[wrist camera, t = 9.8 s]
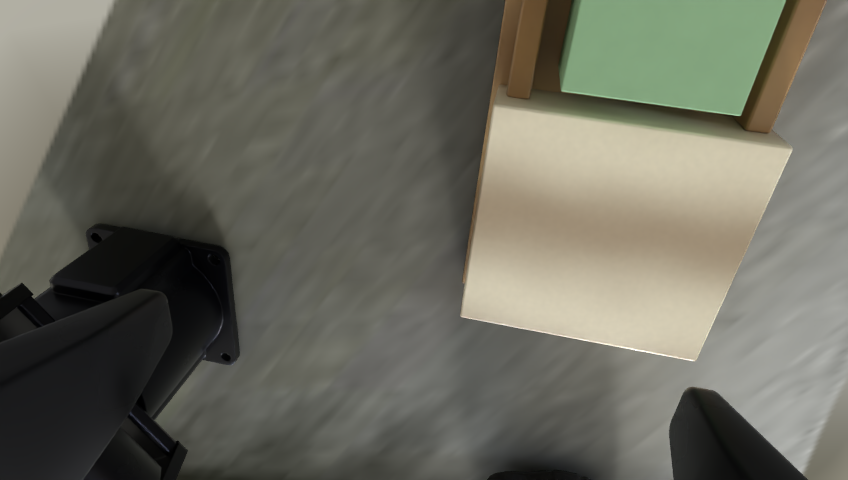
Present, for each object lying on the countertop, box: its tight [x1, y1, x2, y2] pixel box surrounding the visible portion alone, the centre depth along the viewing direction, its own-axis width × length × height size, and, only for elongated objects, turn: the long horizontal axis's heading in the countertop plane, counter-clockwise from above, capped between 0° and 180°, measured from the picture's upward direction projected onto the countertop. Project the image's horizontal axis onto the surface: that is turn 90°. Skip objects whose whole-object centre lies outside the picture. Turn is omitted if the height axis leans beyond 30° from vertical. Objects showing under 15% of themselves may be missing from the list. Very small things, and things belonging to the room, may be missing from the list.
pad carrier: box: [460, 0, 827, 361], centre depth 16 cm, size 16×8×3 cm, turn 175°
